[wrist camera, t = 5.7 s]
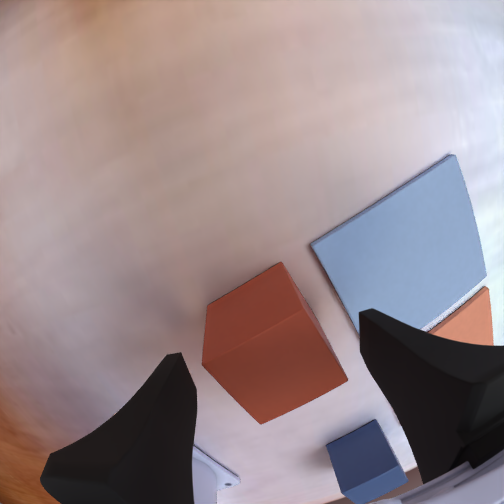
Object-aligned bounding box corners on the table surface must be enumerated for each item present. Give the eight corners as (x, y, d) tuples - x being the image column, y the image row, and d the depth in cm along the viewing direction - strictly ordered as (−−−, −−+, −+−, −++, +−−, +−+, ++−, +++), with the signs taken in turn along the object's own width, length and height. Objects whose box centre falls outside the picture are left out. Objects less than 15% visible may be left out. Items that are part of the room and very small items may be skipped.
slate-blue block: (343, 463, 20) (358, 506, 15) (325, 445, 19) (341, 493, 14) (388, 440, 19) (408, 481, 15) (375, 418, 18) (399, 465, 14)
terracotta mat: (402, 425, 19) (404, 429, 19) (375, 367, 17) (377, 371, 16) (491, 359, 18) (494, 361, 18) (484, 285, 16) (488, 288, 15)
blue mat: (370, 357, 16) (372, 361, 16) (309, 243, 14) (312, 246, 13) (483, 273, 15) (487, 276, 15) (451, 154, 13) (455, 154, 13)
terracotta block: (251, 361, 16) (260, 425, 11) (207, 305, 14) (200, 364, 10) (319, 324, 15) (348, 380, 11) (281, 261, 14) (304, 307, 10)
